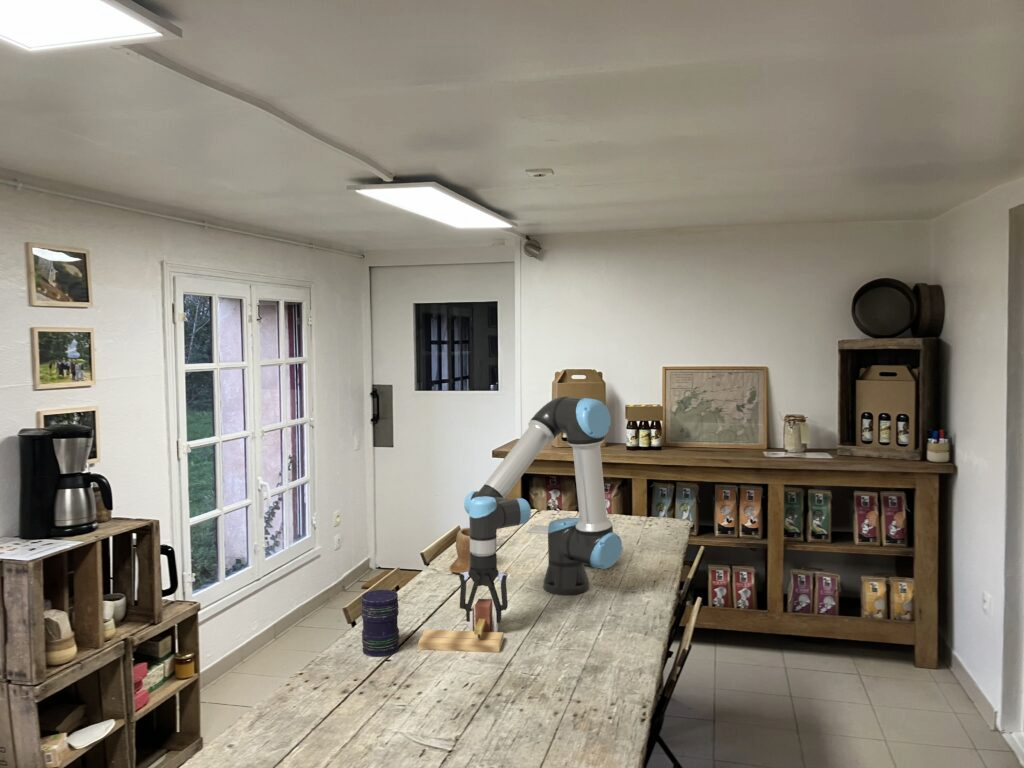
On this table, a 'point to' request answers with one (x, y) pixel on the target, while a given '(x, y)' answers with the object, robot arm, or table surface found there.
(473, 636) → the board
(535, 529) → the baseboard
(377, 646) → the storage jar
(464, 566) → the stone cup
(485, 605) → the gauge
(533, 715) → the table surface
